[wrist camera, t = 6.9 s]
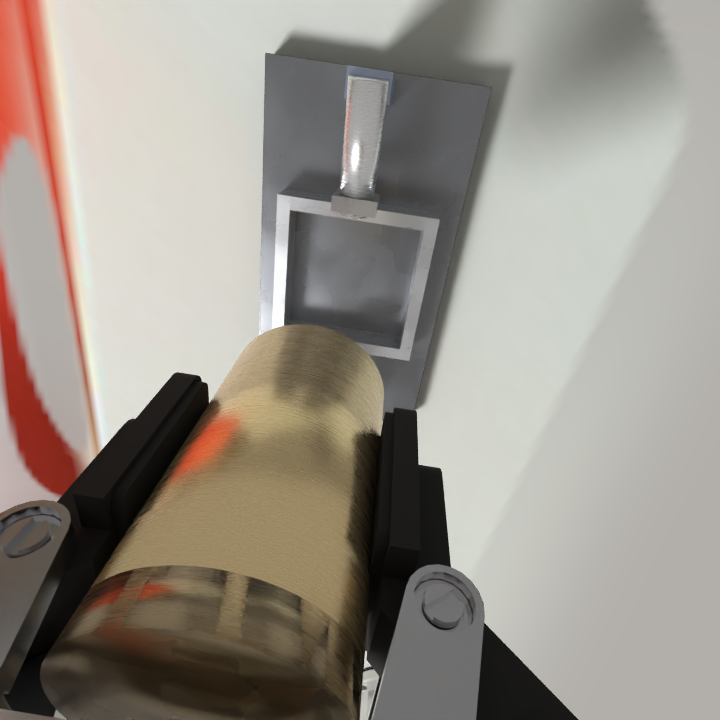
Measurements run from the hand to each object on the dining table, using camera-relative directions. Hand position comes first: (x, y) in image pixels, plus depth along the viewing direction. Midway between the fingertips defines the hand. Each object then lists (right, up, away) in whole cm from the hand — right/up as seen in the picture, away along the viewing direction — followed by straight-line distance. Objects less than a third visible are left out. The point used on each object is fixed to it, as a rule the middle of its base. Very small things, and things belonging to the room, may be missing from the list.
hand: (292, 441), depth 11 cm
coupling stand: (+1, +7, +13) cm, 15 cm away
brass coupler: (0, +1, +2) cm, 2 cm away
